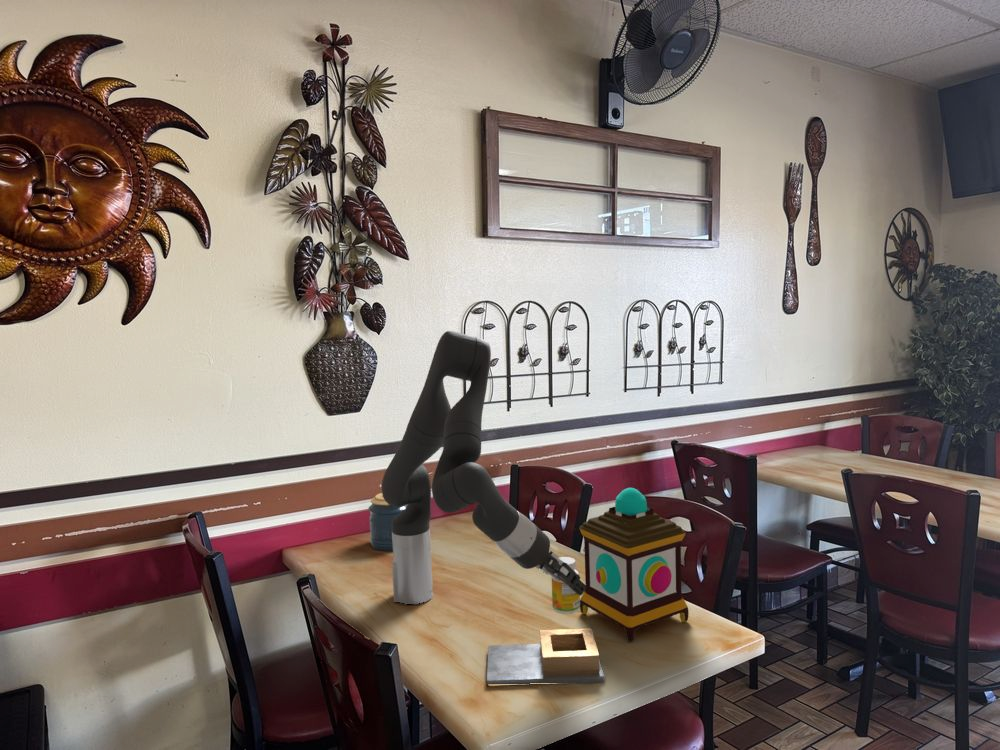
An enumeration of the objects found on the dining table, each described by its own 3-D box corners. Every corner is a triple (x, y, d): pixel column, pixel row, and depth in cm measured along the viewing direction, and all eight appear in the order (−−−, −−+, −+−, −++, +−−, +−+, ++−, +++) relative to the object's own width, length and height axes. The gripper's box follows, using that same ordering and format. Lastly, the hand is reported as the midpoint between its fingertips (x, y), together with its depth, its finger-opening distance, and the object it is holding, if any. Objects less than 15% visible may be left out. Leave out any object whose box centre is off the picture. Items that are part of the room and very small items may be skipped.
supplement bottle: (550, 603, 132) (549, 556, 131) (577, 601, 133) (575, 554, 132) (554, 615, 127) (553, 566, 126) (582, 613, 127) (581, 564, 126)
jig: (487, 686, 124) (486, 662, 124) (488, 651, 137) (487, 629, 137) (604, 682, 124) (603, 658, 124) (594, 647, 137) (594, 625, 137)
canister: (368, 540, 208) (365, 485, 206) (409, 534, 212) (406, 480, 210) (373, 554, 196) (369, 495, 194) (416, 547, 200) (413, 490, 198)
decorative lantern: (571, 612, 153) (567, 485, 150) (636, 591, 163) (633, 472, 160) (629, 649, 136) (626, 506, 133) (698, 623, 146) (696, 489, 143)
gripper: (553, 532, 118) (607, 581, 125) (511, 512, 130) (563, 558, 137) (528, 567, 116) (585, 615, 123) (489, 544, 128) (542, 589, 135)
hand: (573, 585), depth 130 cm, fingers closed on supplement bottle, 5 cm apart
